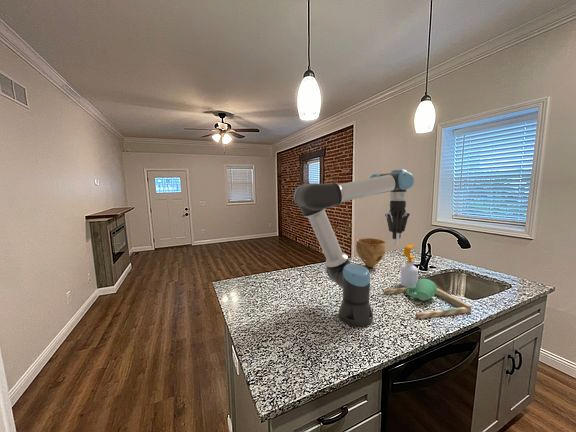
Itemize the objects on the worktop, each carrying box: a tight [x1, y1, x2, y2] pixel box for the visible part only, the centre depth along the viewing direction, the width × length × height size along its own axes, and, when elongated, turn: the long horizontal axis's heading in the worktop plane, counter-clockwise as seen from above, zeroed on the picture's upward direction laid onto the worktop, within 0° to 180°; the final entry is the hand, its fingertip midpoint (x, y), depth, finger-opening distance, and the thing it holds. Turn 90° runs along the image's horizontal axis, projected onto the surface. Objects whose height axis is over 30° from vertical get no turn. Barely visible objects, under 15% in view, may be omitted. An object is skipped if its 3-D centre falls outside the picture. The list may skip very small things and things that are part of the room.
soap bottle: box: [400, 243, 419, 288], centre depth 145 cm, size 9×9×25 cm
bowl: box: [355, 237, 387, 268], centre depth 179 cm, size 21×20×20 cm
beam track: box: [383, 286, 472, 319], centre depth 126 cm, size 28×27×3 cm
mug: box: [405, 278, 438, 302], centre depth 130 cm, size 15×10×10 cm
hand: (396, 244), depth 130 cm, fingers closed
